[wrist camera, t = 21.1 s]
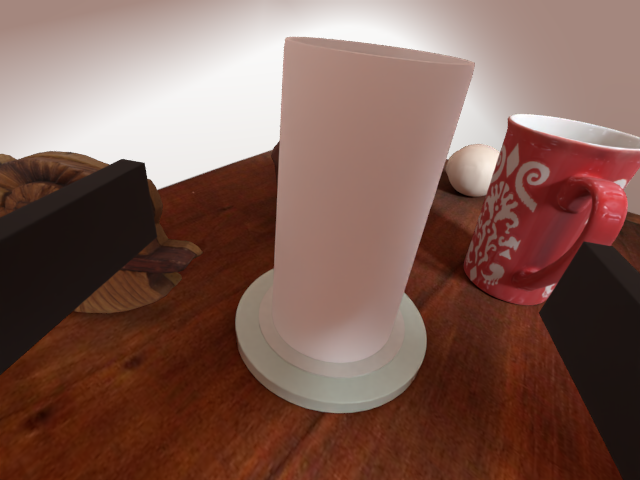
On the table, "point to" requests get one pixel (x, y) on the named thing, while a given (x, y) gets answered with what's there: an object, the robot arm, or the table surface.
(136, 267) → the wooden carving
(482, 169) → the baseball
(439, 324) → the table surface
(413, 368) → the plate
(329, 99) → the cup
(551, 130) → the mug
